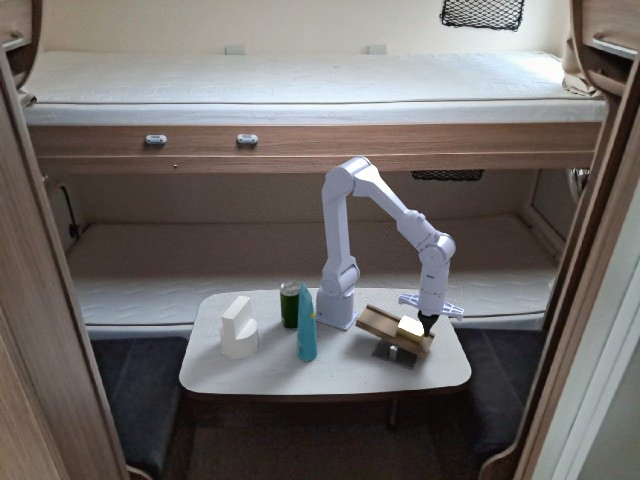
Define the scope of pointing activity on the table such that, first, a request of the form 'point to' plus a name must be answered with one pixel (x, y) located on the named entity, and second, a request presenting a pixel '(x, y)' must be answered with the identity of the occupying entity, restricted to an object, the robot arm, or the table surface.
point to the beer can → (289, 304)
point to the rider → (410, 330)
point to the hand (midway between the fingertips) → (426, 335)
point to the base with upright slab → (239, 330)
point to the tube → (306, 326)
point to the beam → (390, 330)
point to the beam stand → (395, 354)
